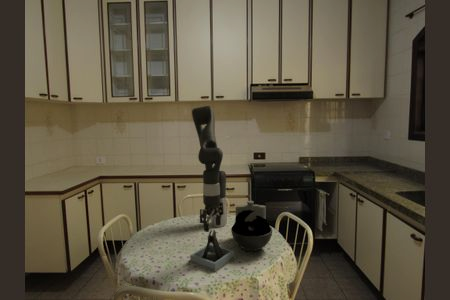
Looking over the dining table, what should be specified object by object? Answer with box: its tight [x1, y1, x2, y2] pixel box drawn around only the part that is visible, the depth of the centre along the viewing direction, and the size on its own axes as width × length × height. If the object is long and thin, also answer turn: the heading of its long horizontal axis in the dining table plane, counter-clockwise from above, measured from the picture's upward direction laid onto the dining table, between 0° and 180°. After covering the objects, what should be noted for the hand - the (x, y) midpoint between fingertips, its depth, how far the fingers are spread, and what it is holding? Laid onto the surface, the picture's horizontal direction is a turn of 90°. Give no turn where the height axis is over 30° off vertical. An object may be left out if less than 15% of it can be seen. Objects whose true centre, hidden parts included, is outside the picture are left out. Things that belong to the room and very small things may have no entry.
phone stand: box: [202, 229, 223, 262], centre depth 125 cm, size 9×6×12 cm, turn 84°
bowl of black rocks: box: [230, 210, 273, 251], centre depth 135 cm, size 20×20×19 cm
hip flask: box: [235, 200, 267, 222], centre depth 148 cm, size 16×4×20 cm, turn 86°
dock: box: [188, 243, 236, 273], centre depth 125 cm, size 15×15×3 cm
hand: (212, 228), depth 124 cm, fingers open, 8 cm apart
